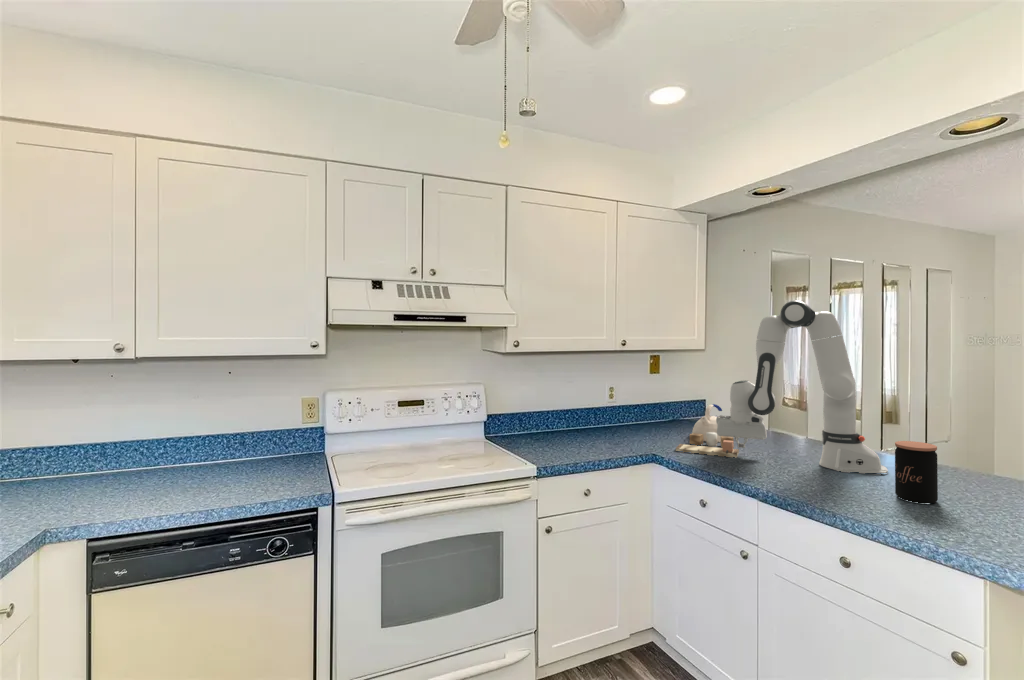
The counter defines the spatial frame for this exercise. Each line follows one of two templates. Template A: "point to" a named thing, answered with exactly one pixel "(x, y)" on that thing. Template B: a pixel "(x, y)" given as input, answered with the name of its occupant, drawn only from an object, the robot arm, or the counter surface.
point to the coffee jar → (916, 471)
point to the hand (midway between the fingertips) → (741, 447)
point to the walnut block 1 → (696, 439)
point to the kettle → (707, 423)
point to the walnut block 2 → (726, 439)
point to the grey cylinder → (711, 439)
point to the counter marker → (728, 446)
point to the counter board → (707, 450)
